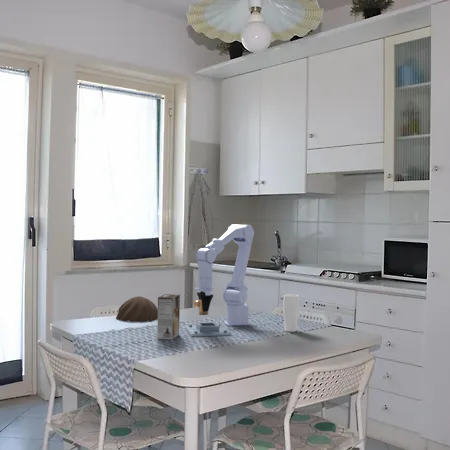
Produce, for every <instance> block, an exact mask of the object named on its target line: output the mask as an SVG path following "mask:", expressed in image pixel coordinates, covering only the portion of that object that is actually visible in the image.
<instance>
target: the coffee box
mask: <svg viewBox="0 0 450 450" xmlns="http://www.w3.org/2000/svg"><path fill="white" fill-rule="evenodd" d="M180 296H181V294H171V293H169V294H168V293H167V294H165V293H164V294H163V295H161V296H159V297H157V309H158V319H157V333H156V334H157V335H156V336H157V339H158V340H170V341H171V340H174V339H176V338H177V337H178V336H179V335H180V310H181V308H180V304H181V303H180V301H181V300H180V299H181V298H180Z"/></svg>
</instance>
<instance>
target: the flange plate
mask: <svg viewBox="0 0 450 450" xmlns="http://www.w3.org/2000/svg"><path fill="white" fill-rule="evenodd" d="M184 329H185V330H186V331H187V333H188V334H189V335H190V337H218V336H219V337H222V336H223V337H225V336H226V337H227V336H232V332H231V331H230V330H229V329H228V328H226V326H224V325H223V324H221V323H219V324H218V323H217V322H213V321H212V322H209V321H208V322H196V323H195V325H193V324H189V325H185V326H184Z"/></svg>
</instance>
